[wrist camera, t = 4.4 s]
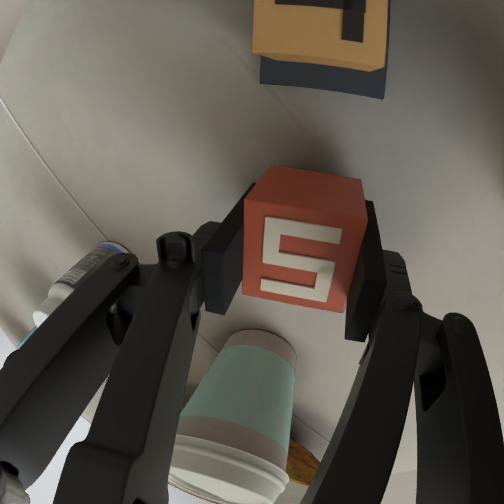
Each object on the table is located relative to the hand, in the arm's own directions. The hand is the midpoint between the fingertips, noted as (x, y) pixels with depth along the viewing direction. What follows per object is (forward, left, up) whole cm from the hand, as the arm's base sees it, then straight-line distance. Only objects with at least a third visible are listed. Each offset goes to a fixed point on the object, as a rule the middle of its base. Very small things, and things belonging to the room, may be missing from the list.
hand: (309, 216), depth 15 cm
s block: (0, 0, 0) cm, 0 cm away
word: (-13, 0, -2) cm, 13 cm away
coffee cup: (+13, -2, -2) cm, 14 cm away
